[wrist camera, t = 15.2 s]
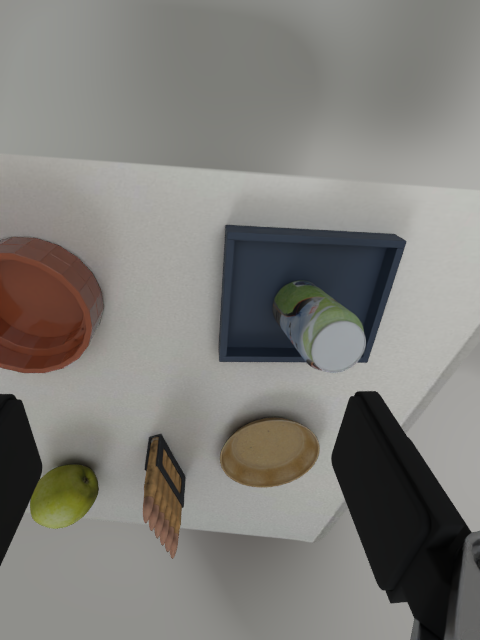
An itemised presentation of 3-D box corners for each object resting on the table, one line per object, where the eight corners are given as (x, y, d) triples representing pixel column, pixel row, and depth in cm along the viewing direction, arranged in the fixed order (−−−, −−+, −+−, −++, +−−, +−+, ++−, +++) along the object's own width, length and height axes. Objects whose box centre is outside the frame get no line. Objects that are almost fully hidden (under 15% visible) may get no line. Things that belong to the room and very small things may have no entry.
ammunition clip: (185, 477, 55) (181, 560, 44) (174, 480, 55) (168, 563, 45) (161, 433, 49) (150, 516, 39) (148, 436, 49) (134, 520, 39)
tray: (225, 224, 35) (227, 231, 33) (394, 233, 38) (407, 241, 35) (218, 349, 43) (219, 361, 41) (359, 350, 45) (367, 362, 43)
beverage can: (262, 315, 40) (283, 382, 30) (288, 259, 37) (322, 312, 27) (308, 329, 42) (343, 397, 32) (338, 277, 39) (387, 333, 29)
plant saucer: (245, 484, 57) (247, 499, 55) (201, 432, 50) (201, 446, 48) (327, 451, 55) (332, 465, 53) (293, 392, 48) (298, 405, 46)
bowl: (-47, 232, 33) (-84, 249, 29) (95, 239, 35) (80, 256, 30) (-9, 345, 40) (-34, 373, 35) (109, 347, 41) (99, 373, 37)
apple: (30, 469, 51) (3, 524, 44) (76, 442, 49) (55, 495, 42) (71, 494, 54) (52, 548, 47) (115, 469, 52) (102, 522, 45)
